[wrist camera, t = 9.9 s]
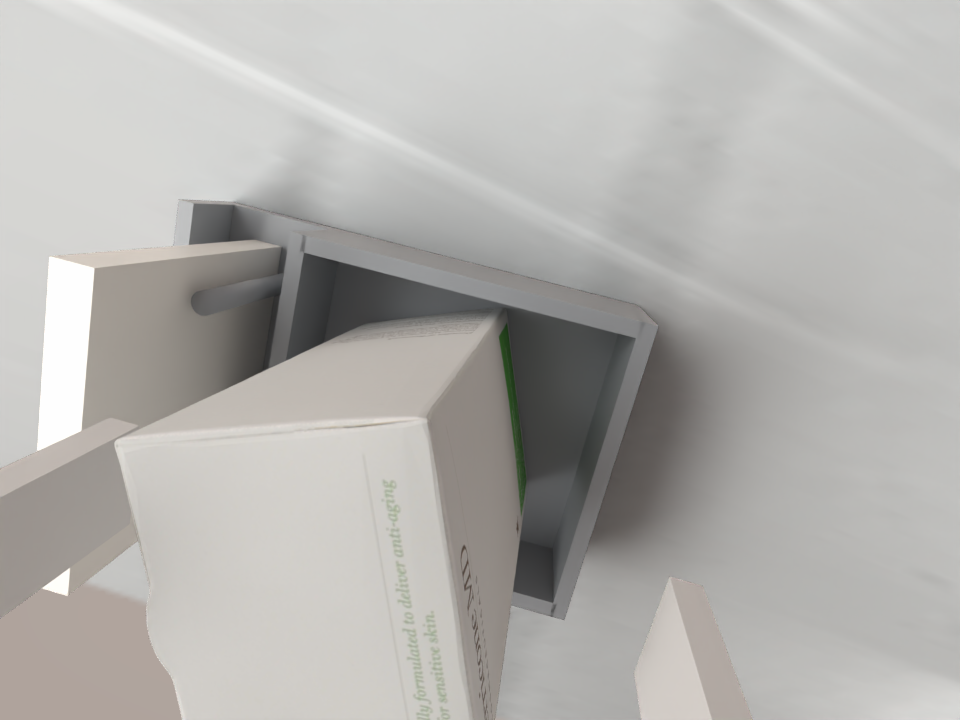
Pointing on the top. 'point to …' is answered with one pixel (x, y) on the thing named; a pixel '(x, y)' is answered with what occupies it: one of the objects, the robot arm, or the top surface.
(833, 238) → the top surface
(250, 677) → the skincare box
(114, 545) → the grey open box
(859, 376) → the top surface
